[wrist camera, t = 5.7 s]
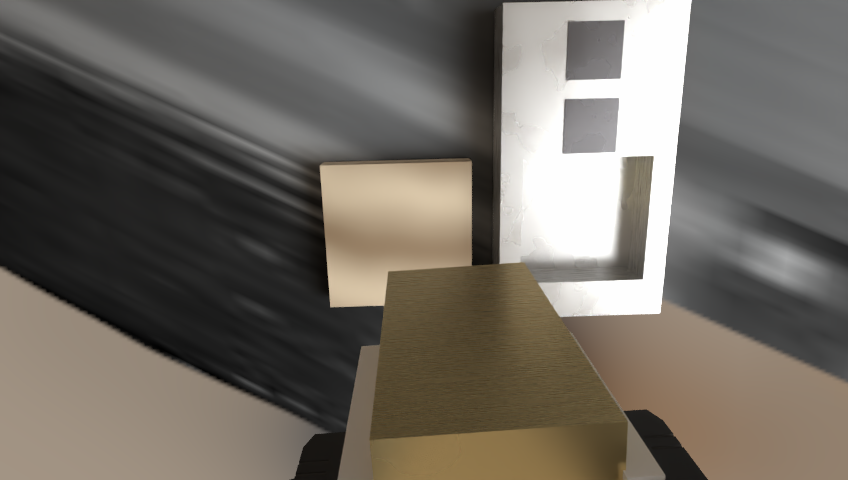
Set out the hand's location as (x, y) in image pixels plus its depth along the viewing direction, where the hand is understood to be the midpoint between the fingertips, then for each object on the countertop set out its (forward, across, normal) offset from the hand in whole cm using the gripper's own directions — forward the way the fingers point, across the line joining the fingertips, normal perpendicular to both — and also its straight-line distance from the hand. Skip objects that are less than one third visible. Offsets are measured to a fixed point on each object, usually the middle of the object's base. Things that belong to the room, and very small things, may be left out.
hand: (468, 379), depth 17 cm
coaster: (+19, -2, 0) cm, 19 cm away
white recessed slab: (+19, +9, +4) cm, 21 cm away
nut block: (+4, 0, 0) cm, 4 cm away
